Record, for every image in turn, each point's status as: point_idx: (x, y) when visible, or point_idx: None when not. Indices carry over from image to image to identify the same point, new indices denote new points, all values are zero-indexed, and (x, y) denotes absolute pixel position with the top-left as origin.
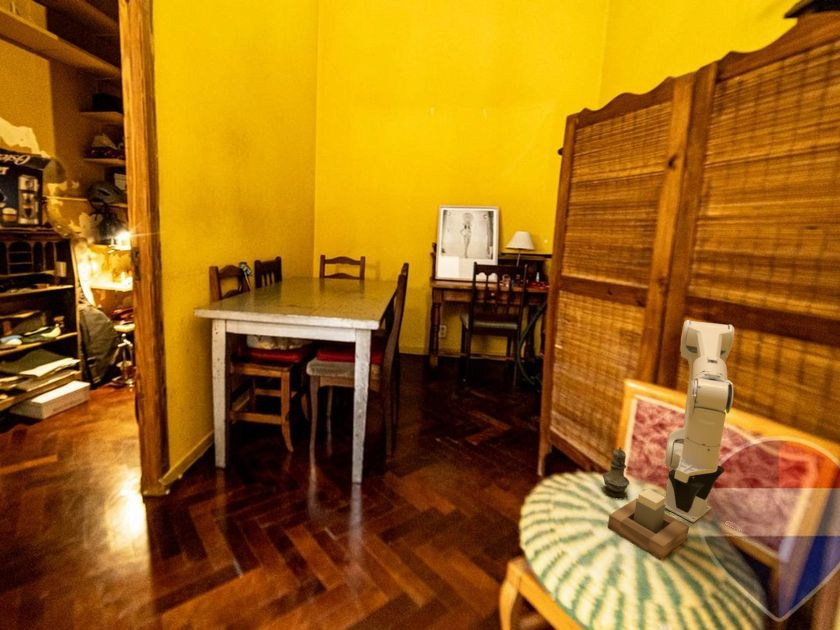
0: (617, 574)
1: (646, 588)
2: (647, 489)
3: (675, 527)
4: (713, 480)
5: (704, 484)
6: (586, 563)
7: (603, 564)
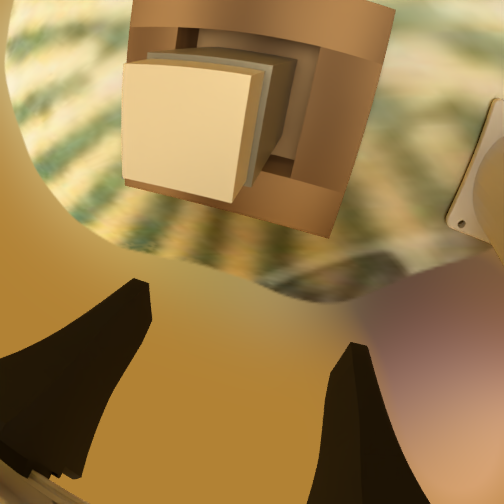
0: (36, 112)
1: (53, 169)
2: (240, 77)
3: (274, 197)
4: (309, 497)
5: (331, 444)
6: (15, 55)
7: (35, 77)
